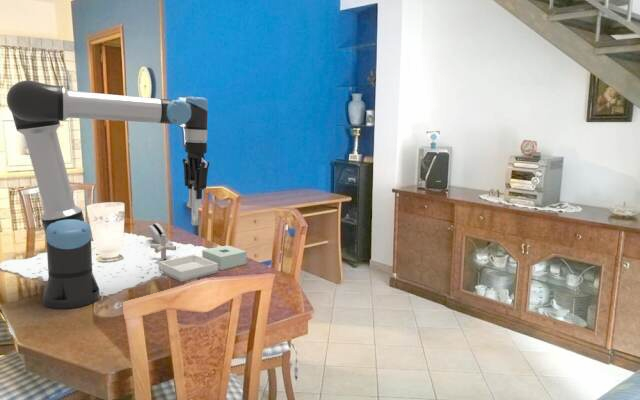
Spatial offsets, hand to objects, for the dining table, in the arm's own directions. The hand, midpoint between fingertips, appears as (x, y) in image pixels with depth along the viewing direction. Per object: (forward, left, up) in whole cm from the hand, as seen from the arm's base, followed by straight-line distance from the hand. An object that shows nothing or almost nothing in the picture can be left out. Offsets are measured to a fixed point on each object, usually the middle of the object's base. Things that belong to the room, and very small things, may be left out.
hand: (194, 207), depth 170 cm
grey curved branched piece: (+9, +41, -24) cm, 48 cm away
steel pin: (0, 0, -6) cm, 6 cm away
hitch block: (+13, 0, -24) cm, 27 cm away
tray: (-3, 0, -24) cm, 24 cm away
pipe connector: (-2, +19, -24) cm, 30 cm away
